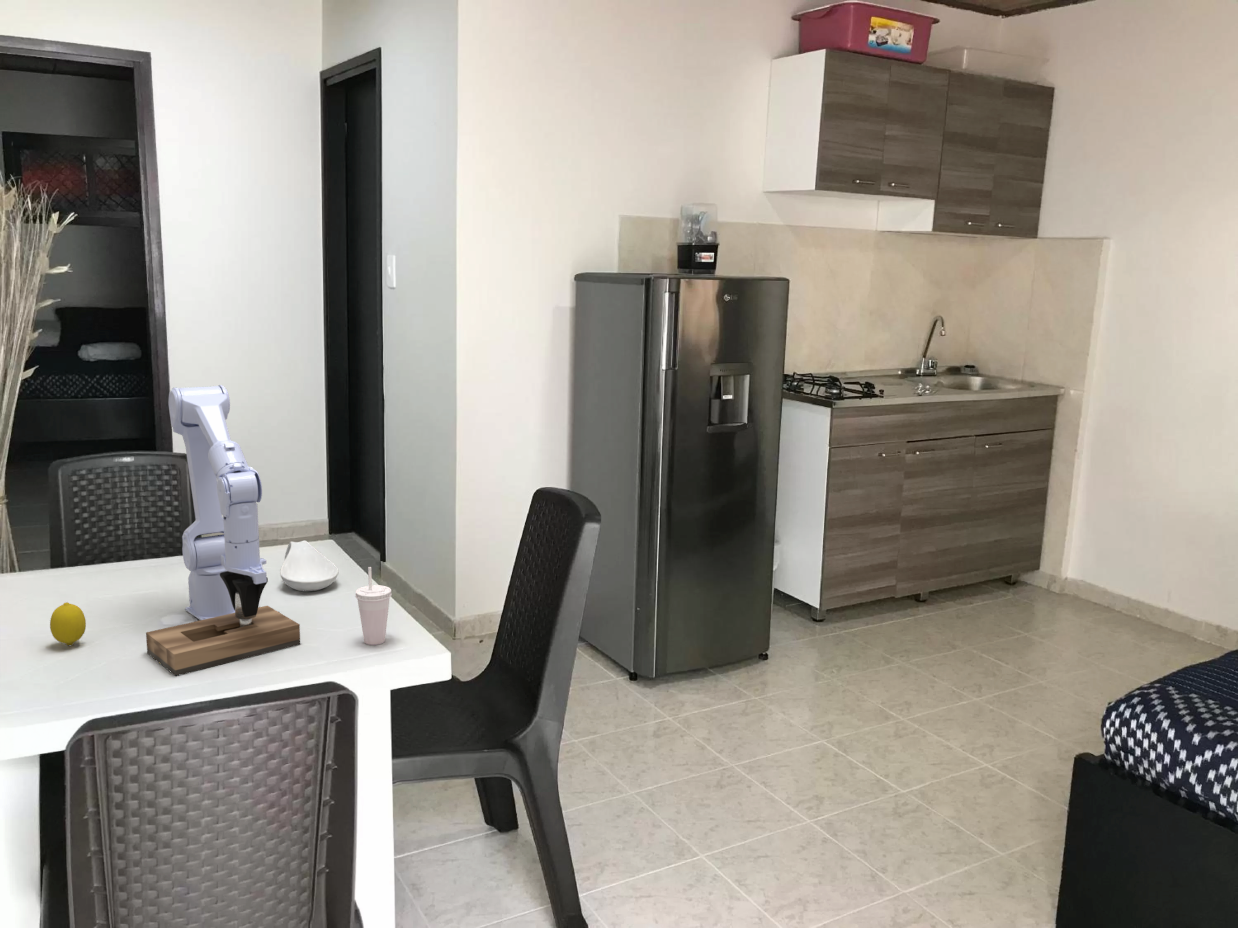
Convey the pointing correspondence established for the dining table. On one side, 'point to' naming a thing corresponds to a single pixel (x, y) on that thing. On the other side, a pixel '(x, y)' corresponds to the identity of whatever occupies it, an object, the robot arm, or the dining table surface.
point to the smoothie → (373, 610)
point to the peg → (241, 613)
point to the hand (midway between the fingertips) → (245, 612)
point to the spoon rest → (307, 568)
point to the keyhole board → (221, 640)
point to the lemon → (67, 623)
